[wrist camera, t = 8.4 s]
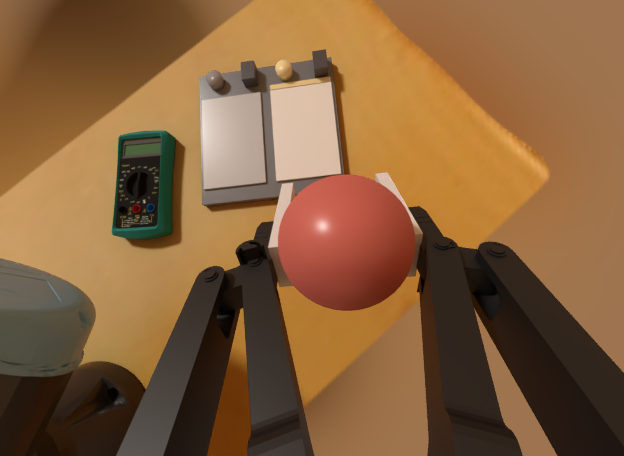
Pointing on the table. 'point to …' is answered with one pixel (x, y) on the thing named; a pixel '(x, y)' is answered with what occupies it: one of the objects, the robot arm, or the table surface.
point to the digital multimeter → (144, 185)
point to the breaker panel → (268, 130)
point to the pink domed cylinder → (346, 242)
